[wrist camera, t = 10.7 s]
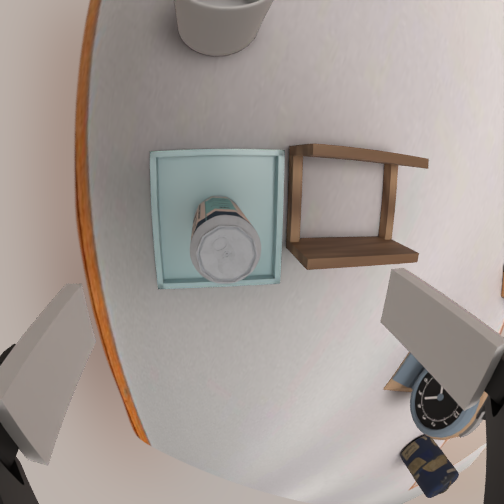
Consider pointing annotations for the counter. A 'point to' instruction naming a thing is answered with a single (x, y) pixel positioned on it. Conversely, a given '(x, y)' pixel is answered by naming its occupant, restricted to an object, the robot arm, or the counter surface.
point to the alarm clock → (433, 402)
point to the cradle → (347, 248)
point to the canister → (429, 466)
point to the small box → (502, 288)
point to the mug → (219, 24)
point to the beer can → (223, 241)
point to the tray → (204, 186)
